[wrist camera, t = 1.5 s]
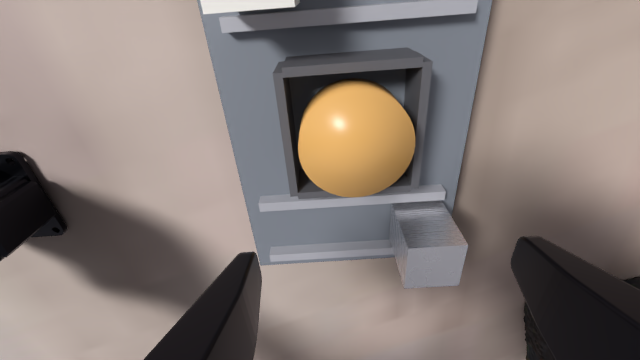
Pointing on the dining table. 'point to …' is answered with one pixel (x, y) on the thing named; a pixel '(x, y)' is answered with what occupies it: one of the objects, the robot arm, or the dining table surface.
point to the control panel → (328, 67)
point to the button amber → (355, 138)
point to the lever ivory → (244, 5)
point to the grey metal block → (426, 244)
